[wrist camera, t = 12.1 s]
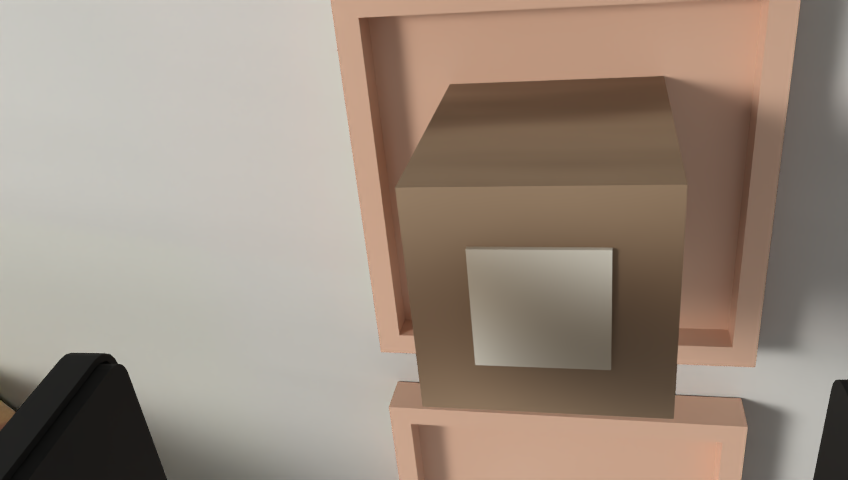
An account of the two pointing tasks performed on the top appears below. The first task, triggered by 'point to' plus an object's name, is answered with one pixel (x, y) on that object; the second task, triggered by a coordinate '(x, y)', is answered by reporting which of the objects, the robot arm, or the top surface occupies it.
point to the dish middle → (567, 442)
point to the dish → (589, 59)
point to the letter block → (547, 247)
